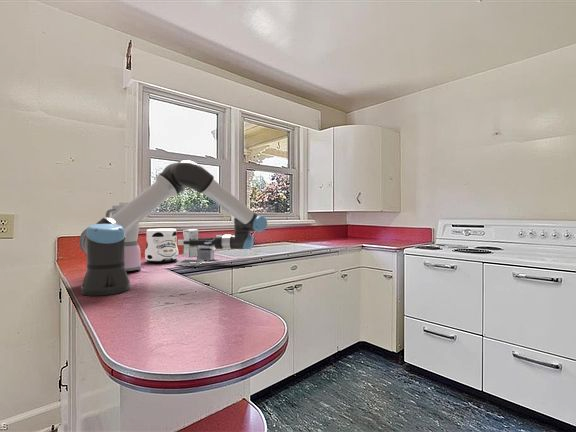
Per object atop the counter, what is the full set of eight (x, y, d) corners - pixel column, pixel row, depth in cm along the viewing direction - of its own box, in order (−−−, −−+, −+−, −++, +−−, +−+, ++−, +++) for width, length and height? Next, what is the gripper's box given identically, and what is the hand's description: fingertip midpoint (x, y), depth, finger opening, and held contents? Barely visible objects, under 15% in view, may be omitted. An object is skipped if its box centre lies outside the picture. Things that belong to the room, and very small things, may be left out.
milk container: (168, 264, 166) (168, 230, 166) (138, 264, 169) (137, 230, 169) (184, 259, 184) (183, 228, 183) (156, 259, 186) (156, 228, 186)
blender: (129, 268, 157) (129, 203, 156) (146, 270, 151) (146, 202, 150) (98, 273, 143) (97, 202, 142) (115, 276, 137) (114, 202, 136)
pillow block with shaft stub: (214, 261, 178) (213, 243, 178) (193, 260, 180) (193, 243, 179) (217, 259, 184) (217, 242, 184) (197, 259, 186) (197, 242, 185)
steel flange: (196, 266, 162) (196, 263, 162) (174, 265, 163) (174, 262, 163) (205, 262, 174) (205, 259, 174) (184, 262, 175) (184, 259, 175)
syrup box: (192, 255, 172) (191, 228, 172) (198, 256, 169) (198, 229, 168) (182, 256, 168) (182, 229, 168) (189, 257, 164) (188, 229, 164)
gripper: (217, 251, 156) (172, 251, 159) (229, 246, 176) (189, 246, 179) (217, 236, 156) (172, 236, 158) (229, 233, 176) (189, 232, 179)
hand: (181, 241), depth 169 cm, fingers closed on syrup box, 7 cm apart
